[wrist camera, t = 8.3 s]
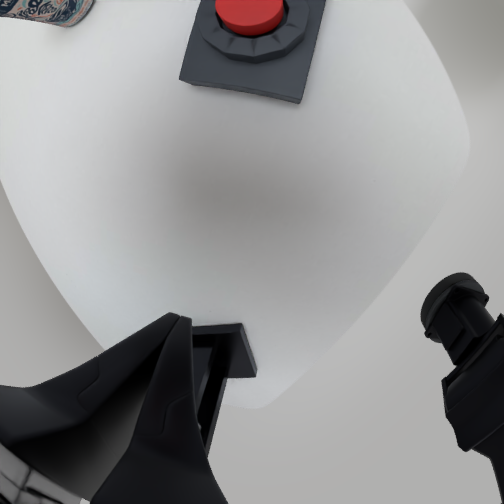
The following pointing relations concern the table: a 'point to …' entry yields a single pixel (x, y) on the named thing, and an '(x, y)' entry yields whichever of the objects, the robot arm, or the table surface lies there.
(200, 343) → the switch bracket
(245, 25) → the stop button
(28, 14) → the beer can
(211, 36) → the stop housing
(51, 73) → the table surface
